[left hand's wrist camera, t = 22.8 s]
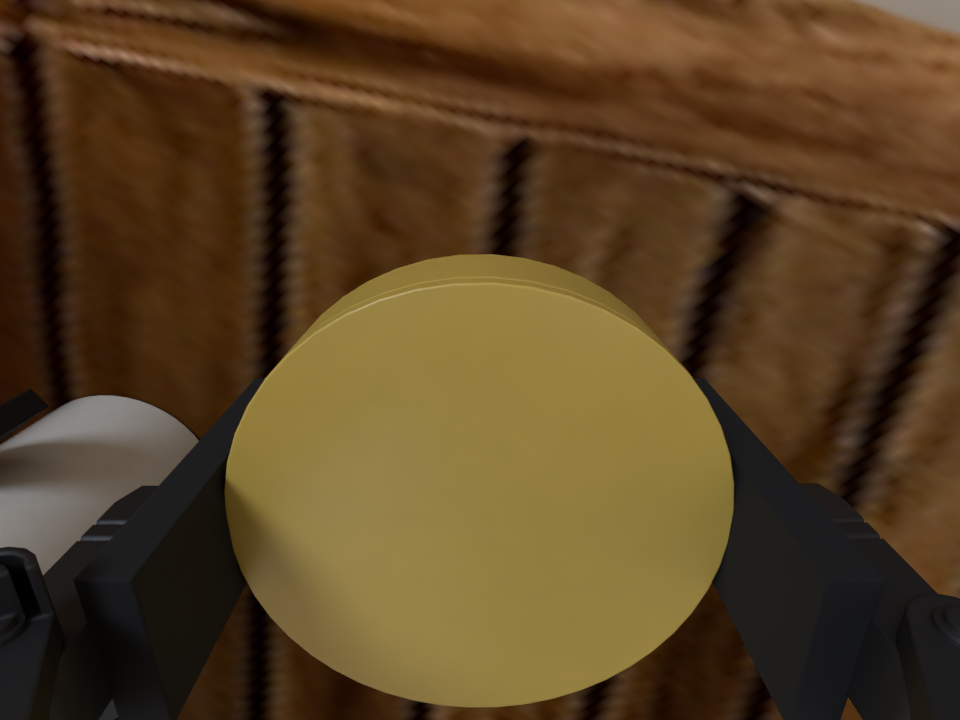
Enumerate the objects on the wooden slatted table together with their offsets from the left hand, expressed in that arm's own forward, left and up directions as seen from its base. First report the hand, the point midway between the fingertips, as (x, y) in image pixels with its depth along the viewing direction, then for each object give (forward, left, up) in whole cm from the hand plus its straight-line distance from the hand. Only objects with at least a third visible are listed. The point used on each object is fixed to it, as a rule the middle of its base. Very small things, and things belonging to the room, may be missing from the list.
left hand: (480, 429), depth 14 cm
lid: (0, 0, +4) cm, 4 cm away
